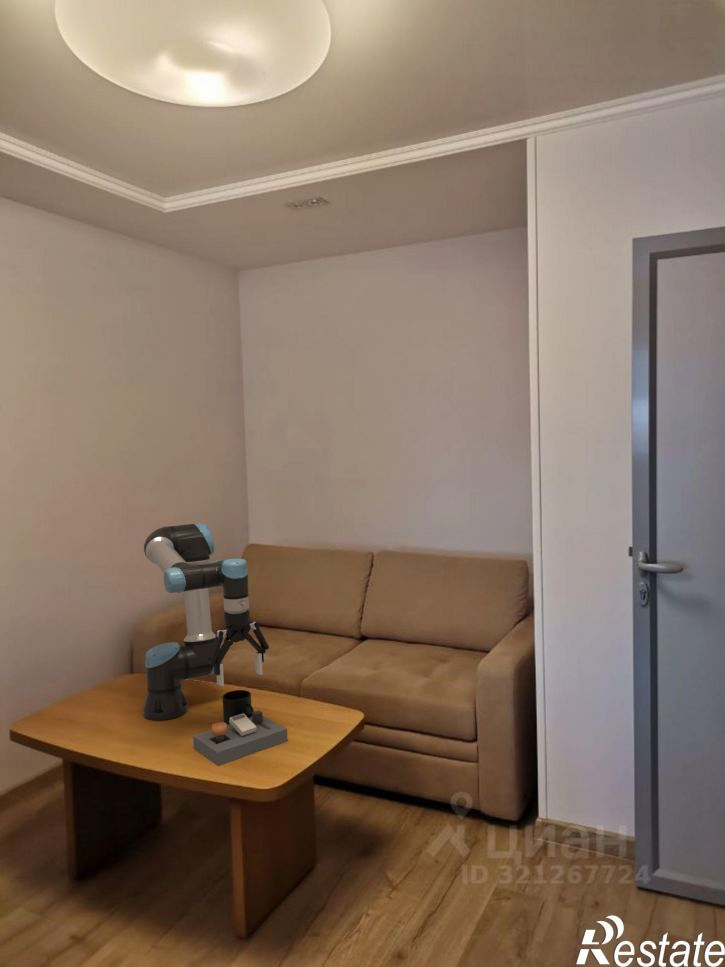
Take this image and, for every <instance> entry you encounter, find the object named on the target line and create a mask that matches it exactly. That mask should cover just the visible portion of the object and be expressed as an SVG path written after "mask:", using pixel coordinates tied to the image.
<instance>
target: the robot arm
mask: <svg viewBox="0 0 725 967" xmlns="http://www.w3.org/2000/svg"><path fill="white" fill-rule="evenodd" d="M143 552H144V555H145V557H146V558H147V560H148V561H149V562H151V563H153V564H155V565H156V566H157V567H158V568H159V569H160V571H161V572H162V573H163V585H164V587H165V591H166V592H167V593H169V594H175V593H179V594H180V593H183V599H184V608H185V609H184V610H185V619H186V620H185V621H186V622H185V623H186V630H187V631H186V633H187V635H186V636H185V637H184V639H183V645H180V644H179V643H178V642H164V643H161V644H157V645H155V646H153V647H151V648H150V649H148V651H146V653H145V662H144V663H145V664H144V667H145V673H146V674H145V676H146V677H145V678H146V689H147V693H146V697H145V700H144V704H143V708H142V713H143V714H142V715H143V717H144V718H145V719H147V720H151V721H167V720H171V719H176V718H180V717H181V716H183V715H185V714H186V713H187V712H188V711H189V703H188V700H187V698H186V696H185V692H184V690H183V686H182V681H184V680H189V679H194V678H198V677H203V676H204V677H205V676H210V675H213V674H214V675H215V676H216V684H217V685H219V686H221V687H224V685H225V684H224V683H225V680H224V658H225V656H226V655H227V653H228V652H229V649H230V648H231V646H233V644H234V643H239V642H240V641H241V642H242V641H243V642H244V641H245V640H246V642H248V643H249V645H250V646H252V647H253V649H255V652H254V665H255V666H254V667H255V668H254V669H255V674H258V675H260V676H261V675H262V676H263V663H264V662H265V657H264V656H265V653H266V652H267V651H268V650H269V649H270V646H269V644H268V642H267V640H266V638H265V637H264V635H263V633H262V630H261V629H260V623H259V622H257V621H253V620H252V621H251V619H250V618H251V617H250V610H249V609H250V600H249V569H248V564H247V563H248V562H247V561H246V559H244V558H229V559H217V560H215V561H213V562H211V563H209V562H210V561H211V560H210V559H211V556H212V555H213V554H214V553H215V542H214V537H213V534H212V532H211V530H210V527H209V526H208V525H207V524H205V523H189V524H187V523H186V524H179V525H168V526H163V527H160V528H157V529H155V530H153V531H152V532H151V533H149V535H148V536H147V538H146V539H145V540H144V544H143ZM216 587H217V588H220V587H222V591H223V593H222V594H223V610H224V613H223V614H224V615H223V616H224V618H223V619H224V625H225V628H224V629H221V630H220V629H217V630H215V632H213V628H212V627H213V626H212V617H211V606H210V605H211V604H210V596H209V589H210V588H216ZM250 621H251V623H250ZM251 630H252V632H253V633H254V636H255V638H256V640H255V639H254V638H253V636H252V635H251V634H250V631H251Z"/></svg>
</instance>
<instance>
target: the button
mask: <svg viewBox="0 0 725 967" xmlns="http://www.w3.org/2000/svg"><path fill="white" fill-rule="evenodd" d="M211 730H212V734H213V735H215V736H216V744H218V743H221V742H224V734H226V733H227V724H226V723H225V722H224V721H217V722H215V723H212V725H211Z"/></svg>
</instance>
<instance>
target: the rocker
mask: <svg viewBox="0 0 725 967" xmlns="http://www.w3.org/2000/svg"><path fill="white" fill-rule="evenodd" d="M229 723H230V724H231V725H232V726H233V727H234V728H235V729H236V730H237V731H238V732H239V734H240V735H241V736H244V735H247V734H250V733H253V732H256V728H257V727H256V726H255V725H254V724H253V723H252V722H251V721H250V720H249V719H248V717H247V716H246V715H245V714H244V713H243V714H240V715H237V716H234V717H230V719H229Z"/></svg>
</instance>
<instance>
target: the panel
mask: <svg viewBox="0 0 725 967" xmlns="http://www.w3.org/2000/svg"><path fill="white" fill-rule="evenodd" d="M248 719H249V720H250V721H251V722H252V723H253V724H254V725H255V726H256V727H257V728H256V732H253V733H250V734H247V735H244V736H241V735H240V734H239V732H238V731H237V730H236V729H235V728H234V727H233V726H232V725H231V724H229V725H227V733H226V734H224V742H221V743H218V744H216V736H215V735H213V734H212V729H210V730H207V731H204V732H201V733H197V734H195V735H192V741H193V749H194V750H195V751H197V752H198V753H200V754H201V755H203V757H205V758H206V759H208V760H209V761H210V762H212V763H214V764H215V765H216V766H218V767H219V766H222V765H225V764H228V763H230V762H234V761H236V760H239V759H242V758H244V757H248V756H251V755H253V754H255V753H259V752H262V751H266V750H268V749H270V748H273V747H276V746H278V745H281V744H285V743H287V742H288V729H287V727H284V726H283V725H280V724H279V723H276V721H273V720H272V719H270V718H267V717H265V716H264V715H263V722H260V723H254V722H253V721H252V717H251V718H248Z"/></svg>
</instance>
